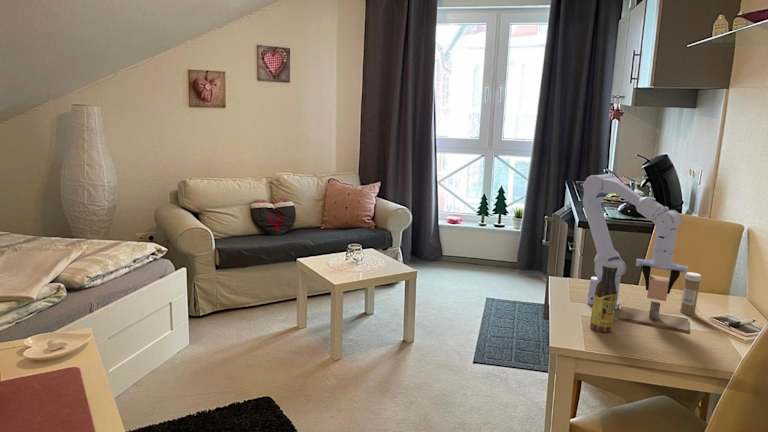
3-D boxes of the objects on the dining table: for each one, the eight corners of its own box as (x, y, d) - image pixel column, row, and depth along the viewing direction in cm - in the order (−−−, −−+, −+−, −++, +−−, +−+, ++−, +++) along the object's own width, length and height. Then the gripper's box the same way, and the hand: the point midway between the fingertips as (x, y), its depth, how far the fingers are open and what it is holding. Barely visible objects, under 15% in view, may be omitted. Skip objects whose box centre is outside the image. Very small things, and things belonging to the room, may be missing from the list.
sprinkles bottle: (697, 313, 195) (704, 274, 193) (690, 316, 193) (696, 276, 190) (684, 309, 199) (690, 270, 196) (676, 311, 197) (683, 272, 194)
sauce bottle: (601, 334, 174) (609, 270, 170) (585, 326, 180) (593, 263, 176) (616, 331, 177) (625, 267, 173) (600, 323, 183) (608, 261, 179)
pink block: (647, 297, 185) (649, 279, 183) (647, 292, 190) (650, 274, 188) (666, 301, 183) (668, 282, 181) (666, 295, 187) (669, 277, 186)
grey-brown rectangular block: (618, 319, 187) (620, 301, 186) (620, 308, 197) (623, 291, 196) (688, 332, 179) (691, 314, 178) (687, 320, 189) (690, 303, 187)
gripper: (637, 248, 182) (631, 290, 185) (690, 256, 176) (683, 299, 179) (639, 243, 189) (633, 284, 191) (689, 250, 183) (683, 292, 185)
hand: (657, 291), depth 186 cm, fingers closed on pink block, 5 cm apart
